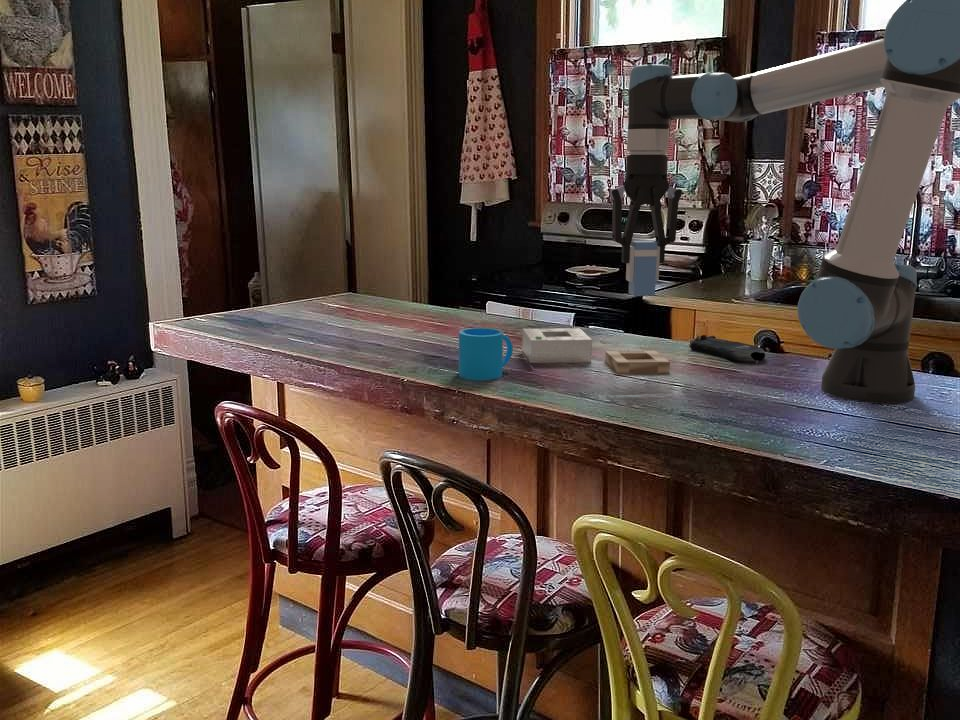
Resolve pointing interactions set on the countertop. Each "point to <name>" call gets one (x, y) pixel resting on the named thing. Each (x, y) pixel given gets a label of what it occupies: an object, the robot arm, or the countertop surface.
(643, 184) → the robot arm
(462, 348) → the mug
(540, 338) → the port block
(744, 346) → the electronic device
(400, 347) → the countertop surface
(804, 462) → the countertop surface
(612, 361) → the tan flat square frame
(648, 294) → the plug
